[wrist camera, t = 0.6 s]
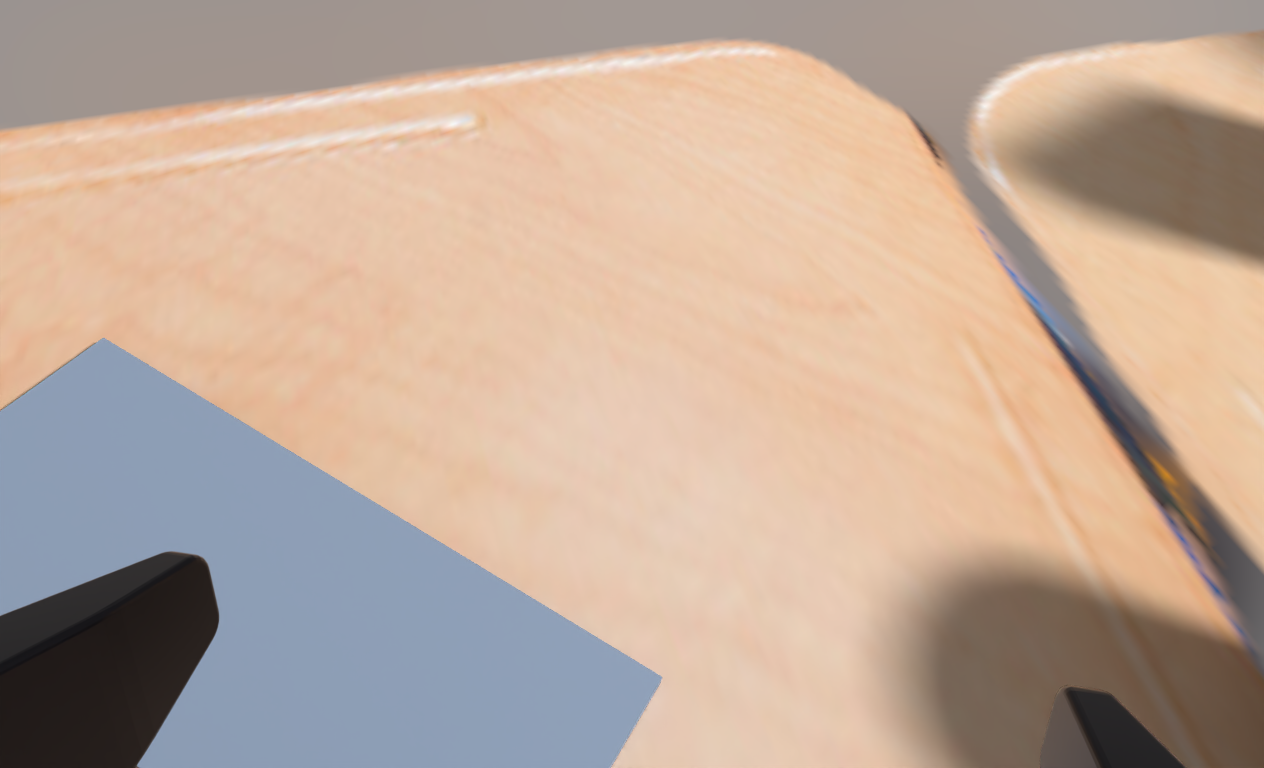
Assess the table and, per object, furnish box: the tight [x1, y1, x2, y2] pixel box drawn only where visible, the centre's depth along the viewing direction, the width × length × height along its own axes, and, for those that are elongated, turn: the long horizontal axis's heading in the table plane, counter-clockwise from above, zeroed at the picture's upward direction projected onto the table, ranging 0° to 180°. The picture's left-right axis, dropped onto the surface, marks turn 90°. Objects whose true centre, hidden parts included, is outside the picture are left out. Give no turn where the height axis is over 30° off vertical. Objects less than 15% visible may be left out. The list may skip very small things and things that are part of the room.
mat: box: [0, 338, 662, 768], centre depth 25 cm, size 9×22×1 cm, turn 60°
